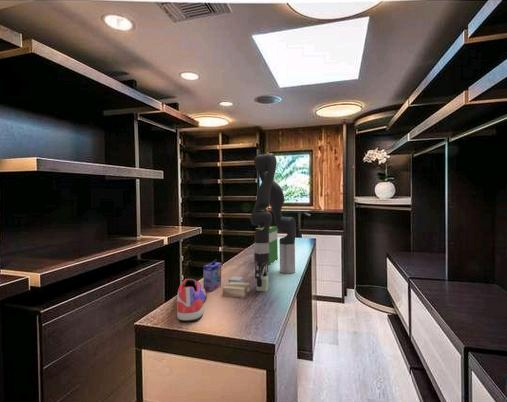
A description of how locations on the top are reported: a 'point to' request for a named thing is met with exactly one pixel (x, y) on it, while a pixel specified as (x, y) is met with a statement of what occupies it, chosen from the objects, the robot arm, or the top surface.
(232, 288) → the maple block
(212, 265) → the ink cartridge box
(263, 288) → the sage block
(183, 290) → the soccer shoe
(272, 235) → the hardback book
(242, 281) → the grey block
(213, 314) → the top surface
